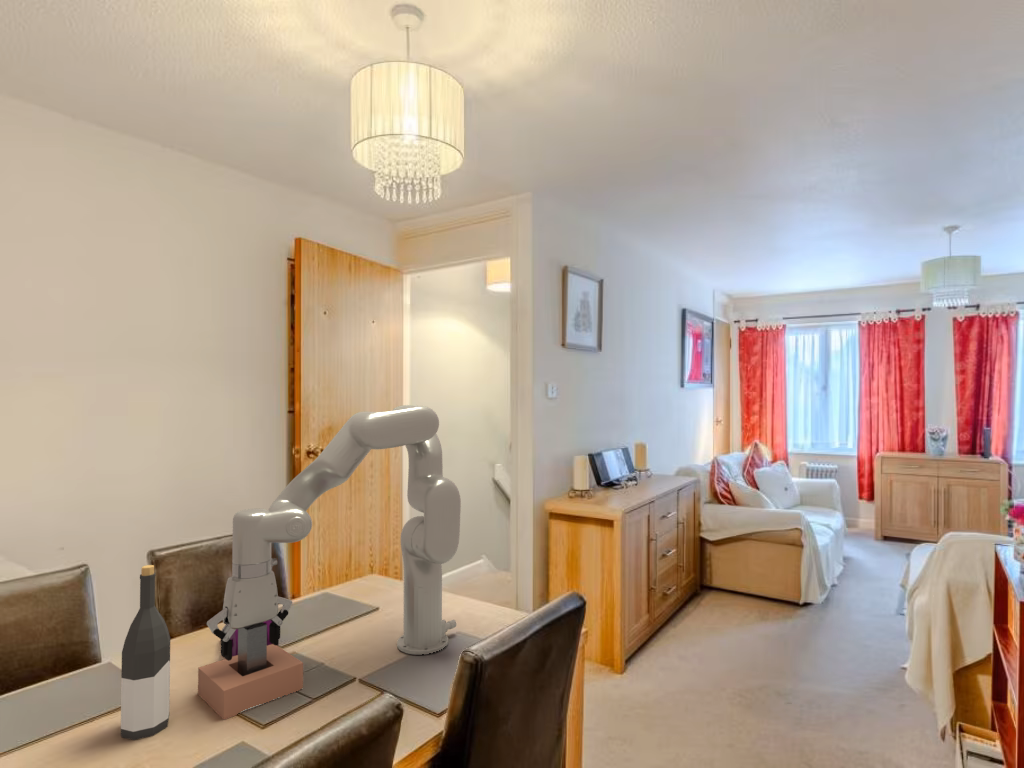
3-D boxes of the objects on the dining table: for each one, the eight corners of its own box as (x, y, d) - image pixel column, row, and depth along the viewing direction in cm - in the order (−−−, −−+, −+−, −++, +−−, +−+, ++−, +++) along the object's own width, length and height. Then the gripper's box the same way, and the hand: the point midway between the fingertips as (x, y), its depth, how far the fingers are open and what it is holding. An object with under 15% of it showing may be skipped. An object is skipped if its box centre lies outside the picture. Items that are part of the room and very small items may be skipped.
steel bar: (256, 683, 124) (257, 618, 124) (266, 692, 121) (266, 624, 121) (237, 690, 121) (238, 623, 122) (246, 699, 118) (247, 630, 118)
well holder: (273, 667, 131) (273, 643, 132) (303, 689, 122) (303, 662, 122) (198, 694, 120) (198, 667, 120) (223, 719, 110) (223, 690, 110)
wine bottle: (135, 716, 111) (137, 560, 112) (178, 714, 112) (180, 559, 113) (109, 741, 103) (112, 573, 104) (156, 739, 104) (158, 572, 105)
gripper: (283, 557, 130) (283, 633, 130) (201, 574, 118) (200, 658, 117) (299, 563, 125) (298, 643, 125) (215, 582, 113) (214, 670, 112)
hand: (251, 650), depth 121 cm, fingers open, 9 cm apart
